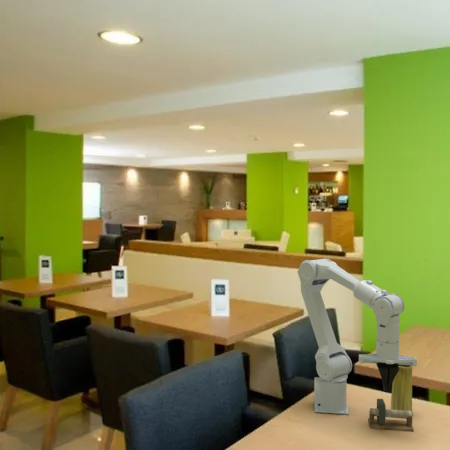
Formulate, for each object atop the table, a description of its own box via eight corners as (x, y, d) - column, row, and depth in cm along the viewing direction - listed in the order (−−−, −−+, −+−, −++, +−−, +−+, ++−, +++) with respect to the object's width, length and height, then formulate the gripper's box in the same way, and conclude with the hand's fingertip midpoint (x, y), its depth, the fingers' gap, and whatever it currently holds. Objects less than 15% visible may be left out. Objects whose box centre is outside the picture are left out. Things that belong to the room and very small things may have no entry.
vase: (409, 409, 145) (410, 361, 144) (415, 418, 139) (416, 368, 138) (388, 408, 146) (389, 360, 145) (393, 417, 140) (394, 367, 139)
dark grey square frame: (379, 424, 132) (379, 404, 132) (376, 417, 137) (376, 398, 137) (385, 424, 132) (385, 405, 132) (382, 417, 137) (382, 398, 136)
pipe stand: (370, 428, 132) (370, 411, 132) (368, 420, 137) (368, 404, 137) (413, 431, 131) (414, 414, 131) (409, 423, 136) (409, 407, 136)
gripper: (361, 343, 128) (360, 394, 129) (420, 345, 126) (418, 398, 127) (358, 336, 135) (357, 385, 136) (413, 338, 133) (412, 388, 134)
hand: (386, 390), depth 132 cm, fingers closed
